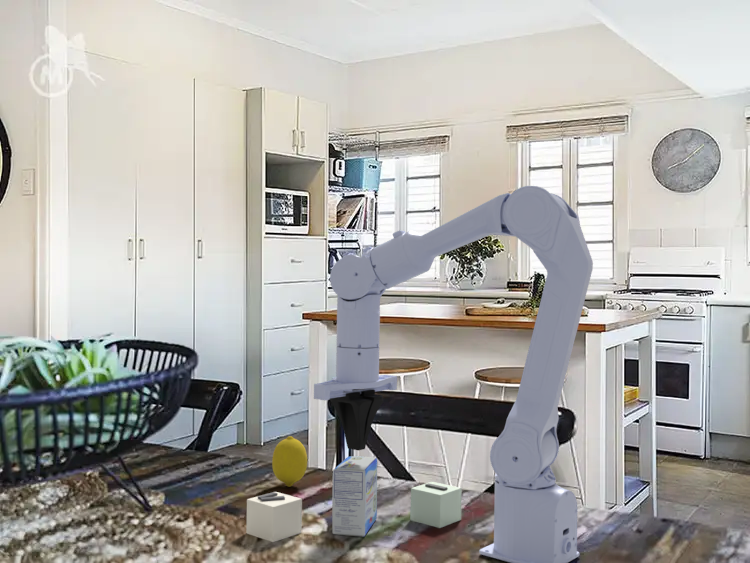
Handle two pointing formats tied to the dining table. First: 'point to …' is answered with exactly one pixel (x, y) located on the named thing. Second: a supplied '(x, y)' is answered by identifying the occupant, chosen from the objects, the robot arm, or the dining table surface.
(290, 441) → the lemon
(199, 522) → the dining table surface
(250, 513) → the cream digit block
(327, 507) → the dining table surface
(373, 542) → the dining table surface
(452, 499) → the sage digit block
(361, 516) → the medicine box
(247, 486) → the dining table surface
